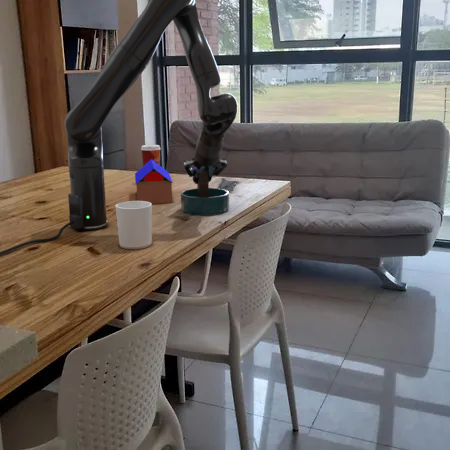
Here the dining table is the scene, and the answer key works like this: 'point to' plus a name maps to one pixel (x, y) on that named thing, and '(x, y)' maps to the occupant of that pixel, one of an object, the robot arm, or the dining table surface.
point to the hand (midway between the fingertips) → (201, 181)
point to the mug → (134, 224)
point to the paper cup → (151, 153)
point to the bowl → (205, 202)
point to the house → (153, 184)
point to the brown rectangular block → (203, 185)
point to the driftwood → (226, 184)
